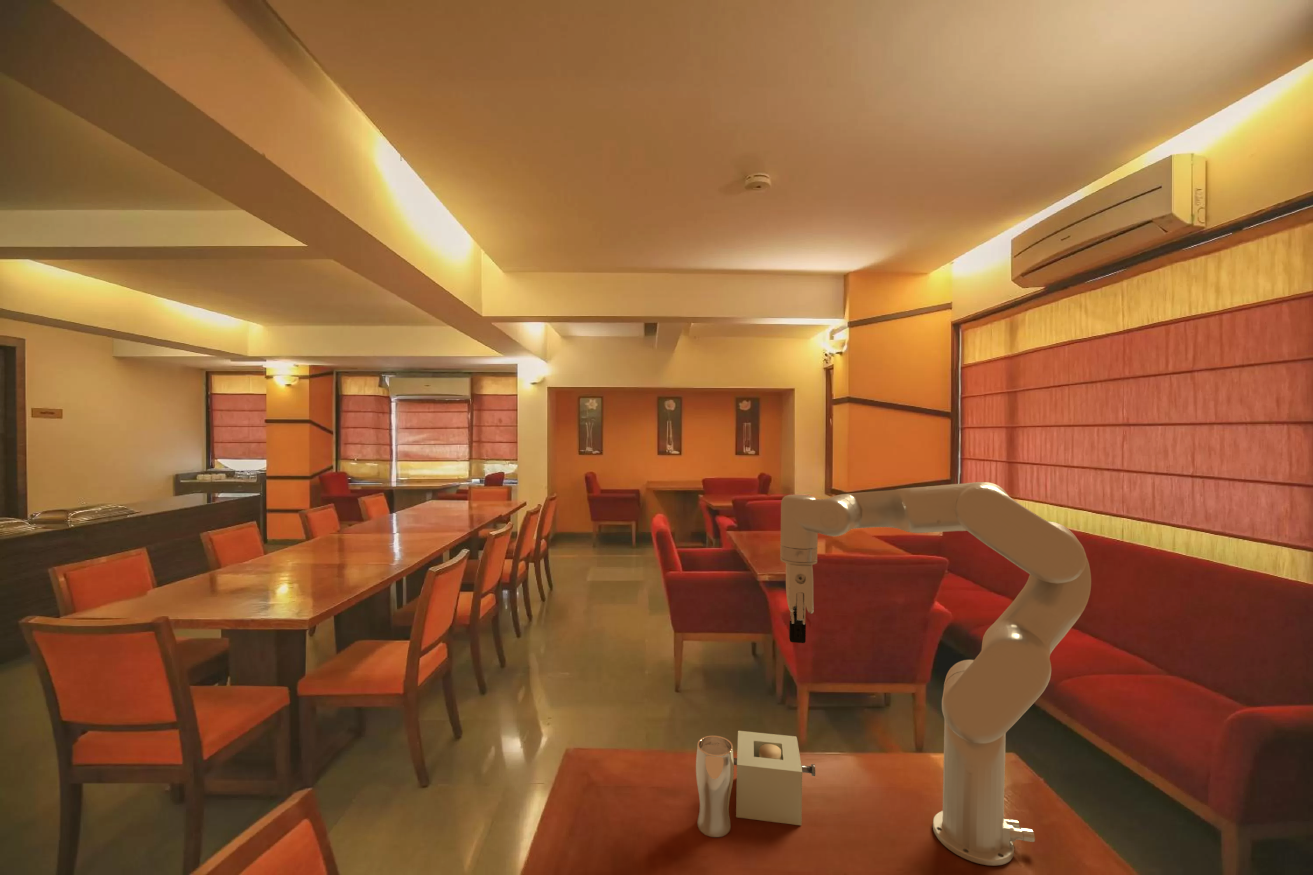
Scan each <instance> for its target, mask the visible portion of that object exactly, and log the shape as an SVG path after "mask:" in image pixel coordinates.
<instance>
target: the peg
mask: <svg viewBox="0 0 1313 875" xmlns="http://www.w3.org/2000/svg"><path fill="white" fill-rule="evenodd" d="M759 757H761V758H771V759H780V760H781V749H780V748H779V747H778V746H776V745H773V744H764V745H762V746H761V747H760V748H759Z"/></svg>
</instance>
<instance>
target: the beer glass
mask: <svg viewBox="0 0 1313 875" xmlns="http://www.w3.org/2000/svg"><path fill="white" fill-rule="evenodd" d="M696 745H697V746H696V747H697V749H696V756H695V757H696V758H695V776H696V778H695V779H696V784H697V791H698V798H699V813H698V816H697V823H696V824H697V827H698V830H699V831H700V832H701V833H702V834H704V835H705V836H707V837H710V838H722V837H724V836H727V835H728V833H729V832H730V831H731V819H730V813H729V811H730V810H729V806H730V799H731V795H732V794H731V793H732V790H733V789H732V788H733V784H734V783H733V782H734V776H735V775H734V774H735V772H734V769H735V765H734V759H733V758H734V746H733V745H734V744H733V743H732V742H731V741H730V740H729V739H728V738H727V737H724V736H720V735H707V736H703V737H701V738H700V739H699V740H698V741H697V744H696Z"/></svg>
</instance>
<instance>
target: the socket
mask: <svg viewBox="0 0 1313 875" xmlns="http://www.w3.org/2000/svg"><path fill="white" fill-rule="evenodd" d="M764 744H773V745H776V746H778V747H779V748H780V749H781V760H780V759H771V758H761V757H759V748H760V747H761V746H762V745H764ZM736 751H737V752H736V753H737V754H736V758H737V765H736V792H735V793H736V795H735V796H736V802H735V803H736V804H735V806H736V808H735V812H736V813H735V814H736V815H735V817H736V818H739V819H749V820H757V821H764V822H772V823H777V824H780V823H781V824H788V825H795V826H802V824H803V823H802V819H803V818H802V816H803V815H802V814H803V811H802V810H803V805H802V803H803V772H802V767H801V765H802V762H801V755H800V750H799V742H798V738H797V736H794V735H784V734H773V733H765V732H755V731H745V730H738V731H737V750H736Z"/></svg>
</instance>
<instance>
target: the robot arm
mask: <svg viewBox="0 0 1313 875" xmlns="http://www.w3.org/2000/svg"><path fill="white" fill-rule="evenodd" d="M780 503H781V504H780V549H779V551H780V554H779V555H780V558H779V559H780V562H782V563H785V590H786V593H785V594H786V602H787V606H788V610H789V611H790V620H789V622H788V623H789V630H788V633H789V635H788V636H789V637H788V638H789V643H797V644H798V643H799V644H805V643H806V640H807V639H806V638H807V637H806V635H807V634H806V633H807V632H806V630H807V624H806V610H807V613H809V614H814V609H815V608H814V606H815V605H814V569H813V565H816V564H818V538H819V536H818V534H820V535H824V536H827V537H840V536H843V535H845V534H847V533H848V532H849V531H851V530H854V529H869V528H892V529H897V530H901V531H904V532H907V533H912V534H925V533H926V534H927V533H941V532H942V533H943V532H944V533H945V532H966V531H967V532H968V533H969V534H971V535H972V536H974V538H976V539H977V540H979V541H980V542H981V543H983V544H984V545H986V546H987V547H988V548H990V549H992V550H993V551H995V552H996V553H997V554H999V555H1000V556H1002V557H1004V558H1005V559H1007V560H1008V561H1009V562H1011V563H1012V564H1014V565H1015V566H1017V567H1018V568H1019V569H1021V570H1023V571H1024V572H1026V573H1027V574H1029V576H1028V579H1027V581H1026V583H1025V585H1024V586H1023V588H1022V589H1021V591H1019V593H1018V594H1017V596H1016V597H1015V599H1014V600H1013V601H1012V602H1011V603H1010V604H1009V605H1008V606H1007V608H1006V609H1005V610H1004V611H1003V612H1002V614H1001V615H1000V616H999V617H998V618H997V619H996V620H995V621H994V623H992V624H991V625H990V626H989V627H988V628H987V630H986V631H985V632H984V634H983V637H982V641H981V642H982V643H981V650H980V651H979V654H978V655H977V656H976V657H975V659H963V660H960V661H958V662H956V663H954V664H953V665H952V666H951V667H950V668H949V670H948V671H947V673H946V676H945V678H944V679H945V680H944V684H943V691H942V698H941V711H942V716H943V719H944V727H943V729H944V732H943V779H942V780H943V782H942V810H941V811H939V812H937V813H935V815H934V816H933V818H932V819H933V820H932V828H933V829H932V830H933V833H934V835H935V837H936V838H937V839H938V841H939V842H940V843H941V844H942V845H943V846H944V847H945V848H946V849H948V850H949V851H951V853H953V854H954V855H957V856H959V857H960V858H962V859H965V860H966V861H968V862H972V863H975V864H978V865H979V864H980V865H985V866H990V867H991V866H994V867H995V866H1002V865H1005V864H1008V863H1009V862H1011V861H1012V859H1013V858H1014V855H1015V854H1014V852H1015V851H1014V850H1015V849H1014V843H1015V842H1016V840H1018V841H1019V840H1020V841H1023V842H1031V843H1034V842H1035V841H1036V837H1035V833H1034V831H1033V829H1031V828H1028V827H1020V822H1019V821H1018V820H1017V819H1012V818H1009V819H1008V818H1004V817H1005V814H1004V813H1005V781H1006V780H1005V776H1006V775H1005V774H1006V773H1005V772H1006V771H1005V770H1006V734H1007V733H1008V731H1009V730H1010V729H1011V728H1012V727H1013V726H1014V725H1015V724H1016V723H1017V722H1018V721H1019V719H1021V717H1022V716H1023V715H1025V713H1026V712H1027V711H1028V710H1029V709H1030V708H1031V707H1032V705H1033V704H1035V703H1036V701H1037V700H1038V699H1039V698H1040V697H1041V695H1042V694H1043V693H1044V692H1045V690H1046V688H1047V687H1048V685H1049V682H1050V680H1051V676H1052V663H1051V659H1050V657H1051V654H1052V652H1053V651H1054V649H1056V648H1057V646H1058V644H1060V642H1061V641H1062V640H1063V639H1064V638H1065V637H1066V635H1067V634H1068V633H1069V631H1070V630H1071V629H1072V627H1073V626H1074V625H1075V624H1076V622H1077V621H1078V620H1079V619H1080V617H1081V615H1082V614H1083V612H1084V611H1085V609H1086V606H1087V605H1088V602H1089V598H1090V596H1091V589H1092V573H1091V568H1090V563H1089V559H1088V557H1087V553H1086V551H1085V548H1084V546H1083V544H1082V543H1081V541H1079V539H1078V538H1077V536H1076V535H1075V533H1073V532H1072V531H1071V530H1070V529H1069V528H1068V527H1066V526H1064V525H1063V524H1061V523H1059V522H1055V521H1048V520H1046V519H1045V518H1043V517H1041V516H1039V515H1038V514H1036V513H1034V512H1033V511H1031V510H1030V509H1028V508H1027V507H1025V506H1024V505H1022V504H1021V503H1019V502H1018V501H1016V500H1015V499H1013V498H1012V497H1011V496H1009V494H1008V492H1007V491H1006V490H1005V489H1004V488H1002V487H1001V486H999V485H998V484H995V483H993V482H988V481H987V482H986V481H976V482H965V483H951V484H941V485H931V486H930V485H929V486H917V487H916V486H915V487H906V488H905V487H904V488H898V489H897V488H896V489H890V490H875V491H865V492H852V493H850V492H849V493H841V494H837V495H834V496H830V497H828V498H824V499H823V498H819V499H818V498H816V497H815V496H812V495H809V494H808V495H807V494H788V495H784V496H782V499H781V502H780Z"/></svg>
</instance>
